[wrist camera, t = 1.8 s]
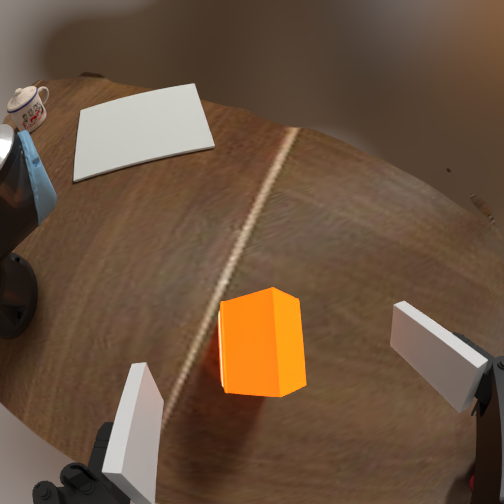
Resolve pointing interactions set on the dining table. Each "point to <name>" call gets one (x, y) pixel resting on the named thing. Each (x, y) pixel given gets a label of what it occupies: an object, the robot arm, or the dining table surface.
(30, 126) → the teacup with lid
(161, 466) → the dining table surface
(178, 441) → the dining table surface
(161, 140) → the rubber mat
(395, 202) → the dining table surface
